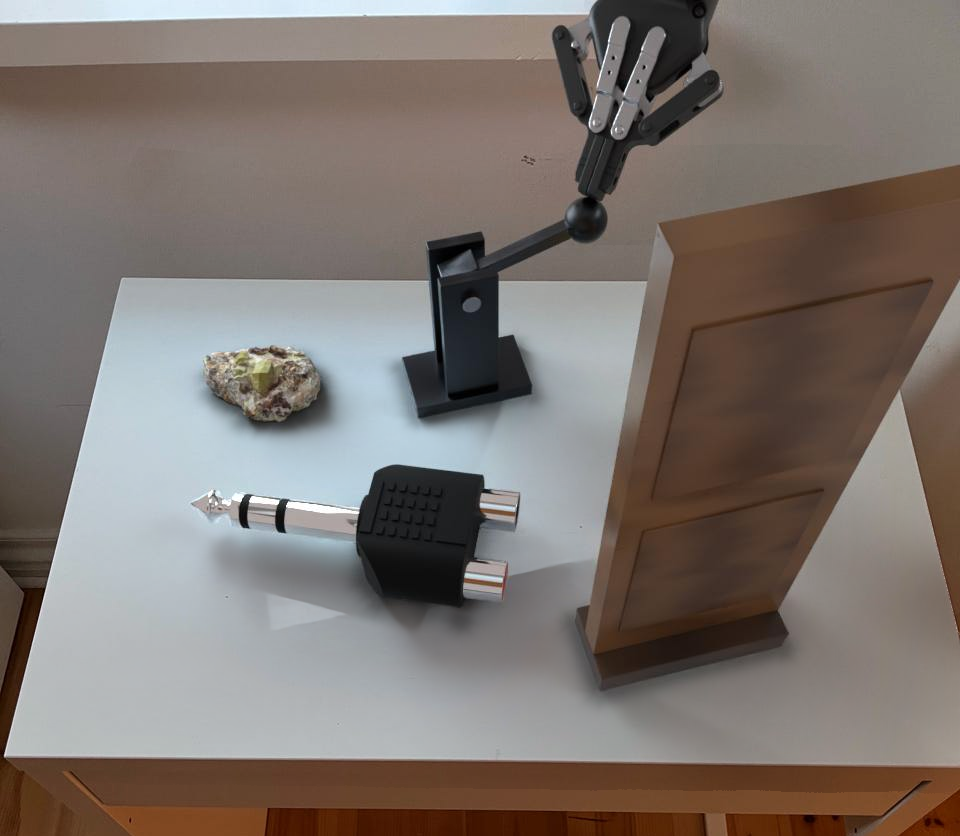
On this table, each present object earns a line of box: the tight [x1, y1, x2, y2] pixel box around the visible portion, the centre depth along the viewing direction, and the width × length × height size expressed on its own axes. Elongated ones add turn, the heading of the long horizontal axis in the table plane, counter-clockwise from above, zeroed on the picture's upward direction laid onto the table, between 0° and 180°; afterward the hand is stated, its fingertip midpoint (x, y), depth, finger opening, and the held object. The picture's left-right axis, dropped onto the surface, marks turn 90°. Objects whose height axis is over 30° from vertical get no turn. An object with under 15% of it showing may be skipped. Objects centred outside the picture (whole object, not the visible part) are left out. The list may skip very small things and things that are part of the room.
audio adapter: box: [189, 463, 521, 609], centre depth 70 cm, size 11×5×25 cm
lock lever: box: [437, 195, 608, 277], centre depth 69 cm, size 13×3×3 cm, turn 105°
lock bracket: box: [401, 230, 533, 419], centre depth 74 cm, size 10×6×13 cm, turn 104°
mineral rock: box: [202, 344, 322, 423], centre depth 79 cm, size 11×4×8 cm
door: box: [574, 163, 960, 692], centre depth 52 cm, size 14×6×36 cm, turn 104°
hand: (589, 195), depth 67 cm, fingers closed
